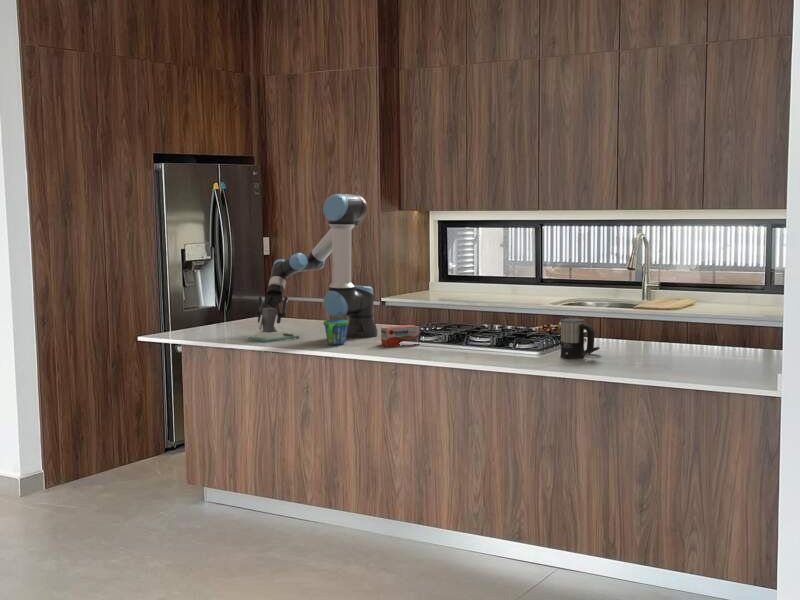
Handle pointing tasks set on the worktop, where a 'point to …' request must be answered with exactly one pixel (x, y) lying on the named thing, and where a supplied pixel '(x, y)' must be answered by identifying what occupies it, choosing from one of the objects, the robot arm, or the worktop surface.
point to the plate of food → (551, 327)
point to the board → (272, 336)
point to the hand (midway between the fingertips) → (267, 328)
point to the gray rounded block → (268, 319)
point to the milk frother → (576, 338)
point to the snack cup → (336, 331)
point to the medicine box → (398, 334)
